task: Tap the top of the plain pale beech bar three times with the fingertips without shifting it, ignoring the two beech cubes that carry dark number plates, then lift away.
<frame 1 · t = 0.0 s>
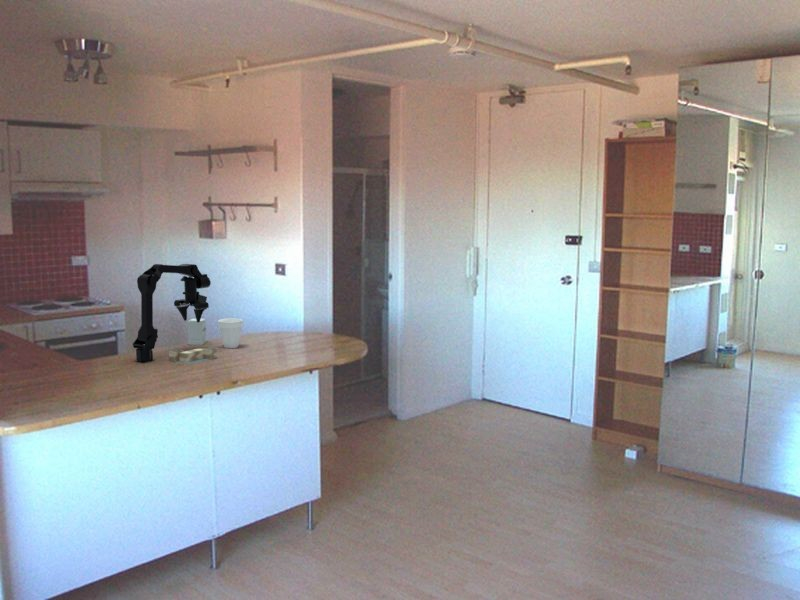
hand: (191, 321, 356), 15 cm above the countertop, fingers open, 9 cm apart
plain bar: (193, 359, 338), resting on mat
number block b: (210, 358, 341), resting on mat
mat: (193, 360, 338), on the countertop
supplement box: (197, 344, 376), on the countertop
number block a: (176, 360, 336), resting on mat
cup: (231, 347, 368), on the countertop
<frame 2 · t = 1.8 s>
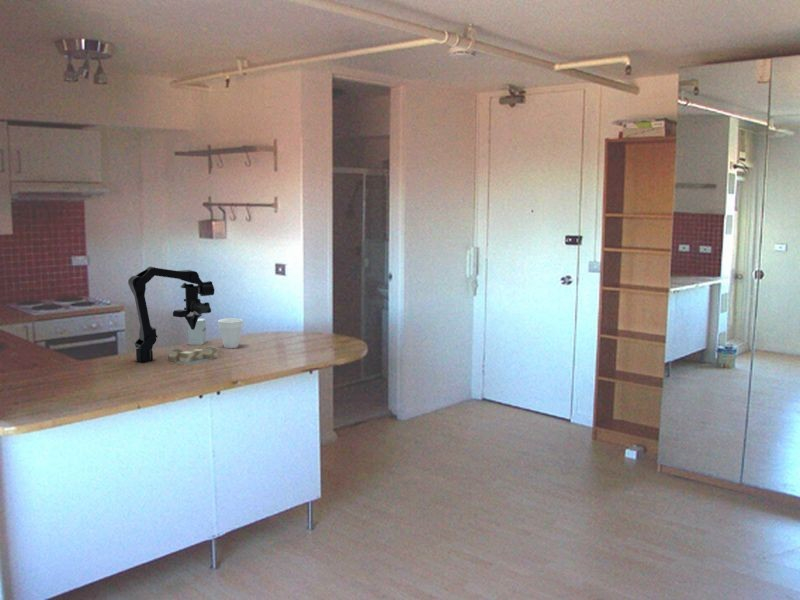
hand: (192, 329, 347), 12 cm above the countertop, fingers closed
nothing on the countertop moved.
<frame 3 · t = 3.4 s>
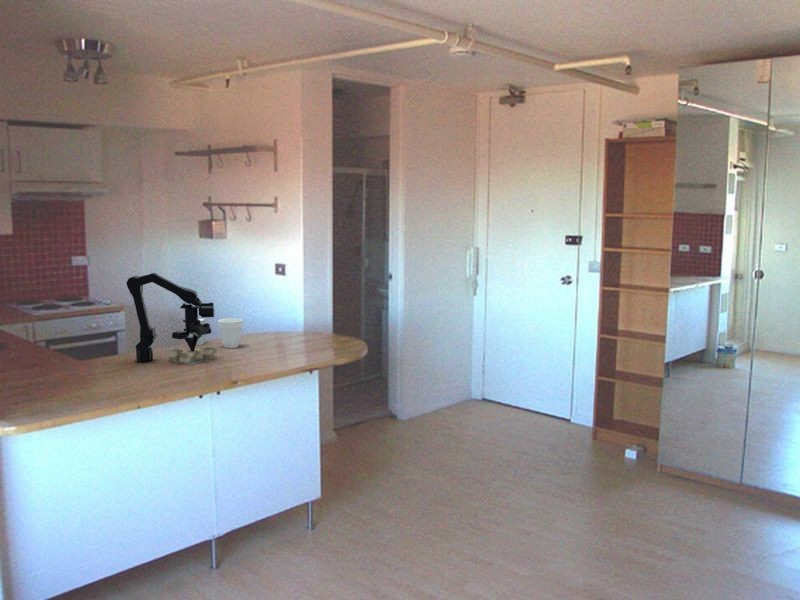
hand: (192, 351, 337), 4 cm above the countertop, fingers closed, pressing on plain bar
plain bar: (193, 359, 338), resting on mat, touching gripper, number block b
number block b: (210, 358, 341), resting on mat, touching plain bar
everything else where it was.
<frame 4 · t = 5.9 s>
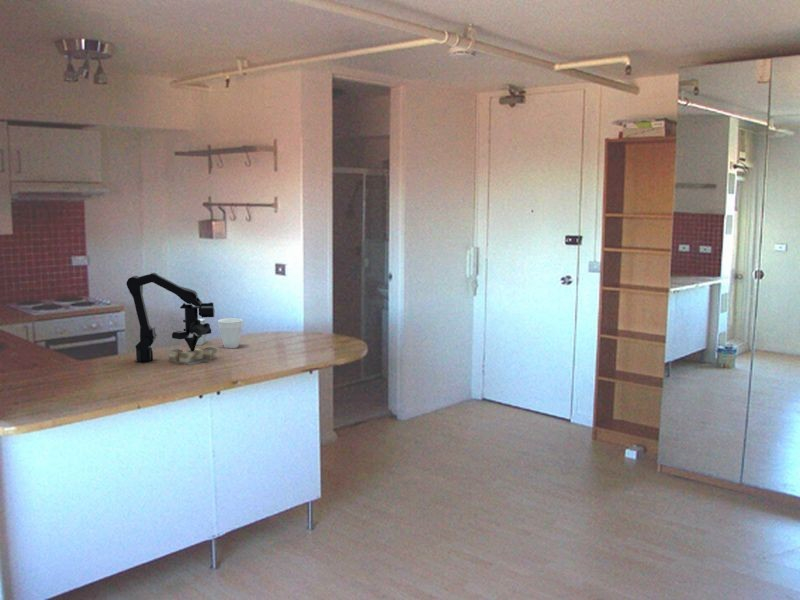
hand: (192, 351, 337), 4 cm above the countertop, fingers closed, pressing on plain bar
plain bar: (193, 359, 338), resting on mat, touching gripper, number block b
everything else where it was.
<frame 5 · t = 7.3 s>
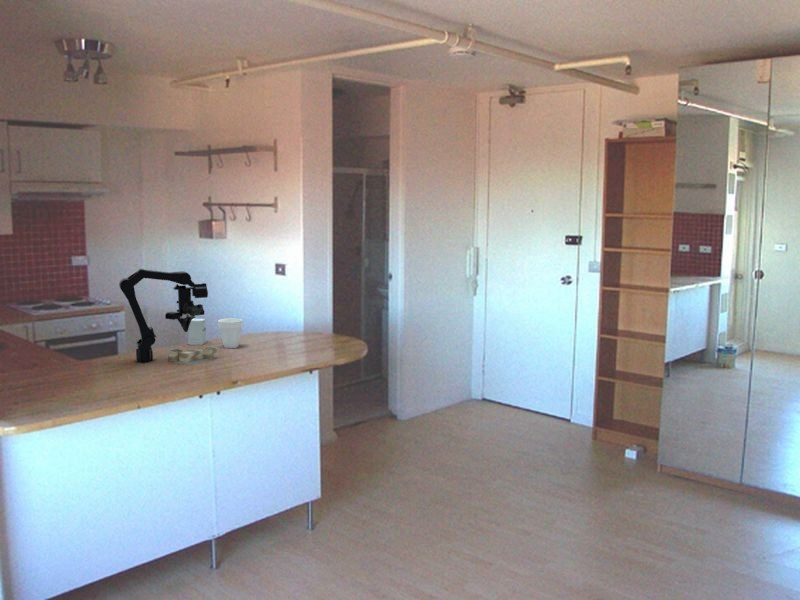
hand: (185, 331, 341), 12 cm above the countertop, fingers closed
plain bar: (193, 359, 338), resting on mat
number block b: (210, 358, 341), resting on mat
everything else where it was.
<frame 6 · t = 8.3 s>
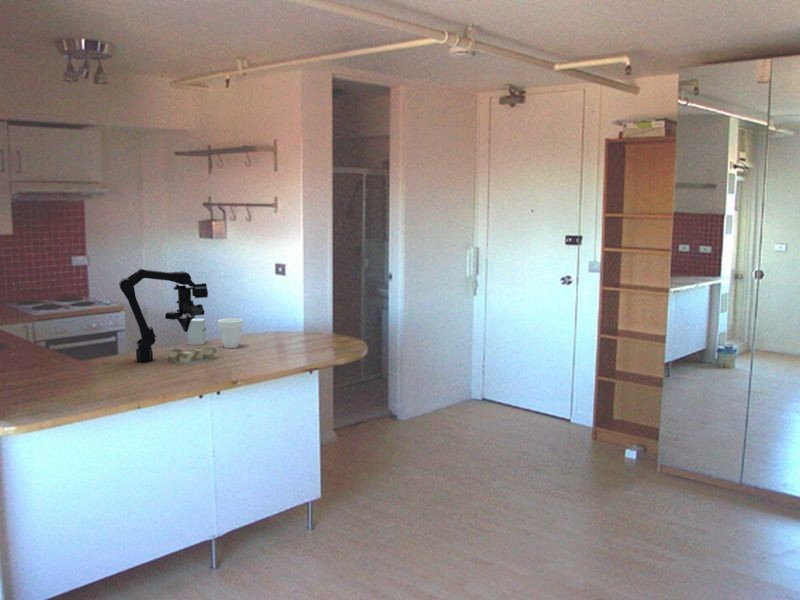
hand: (185, 331, 341), 12 cm above the countertop, fingers closed
nothing on the countertop moved.
at the end: plain bar moved 0.0 cm from its start; number block a moved 0.0 cm from its start; number block b moved 0.0 cm from its start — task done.
